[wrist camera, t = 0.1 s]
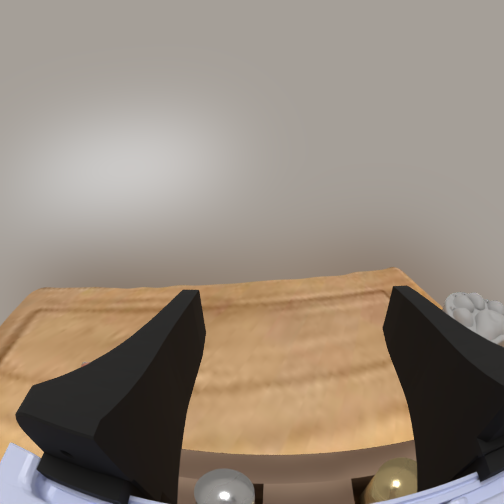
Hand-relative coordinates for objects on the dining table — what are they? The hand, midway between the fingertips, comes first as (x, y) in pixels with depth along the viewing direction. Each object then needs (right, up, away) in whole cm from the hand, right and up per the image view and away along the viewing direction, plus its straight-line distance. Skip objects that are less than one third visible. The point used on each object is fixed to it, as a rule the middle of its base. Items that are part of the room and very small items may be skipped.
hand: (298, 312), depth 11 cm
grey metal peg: (-3, -18, +5) cm, 18 cm away
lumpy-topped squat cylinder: (+29, -13, +24) cm, 40 cm away
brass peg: (+8, -18, +4) cm, 20 cm away
